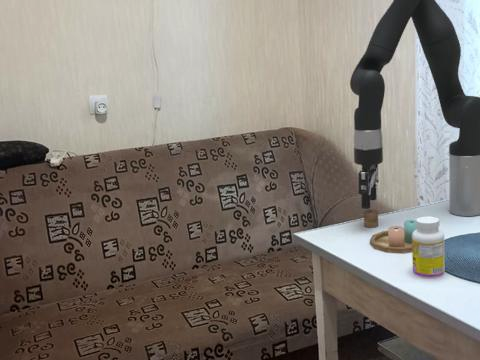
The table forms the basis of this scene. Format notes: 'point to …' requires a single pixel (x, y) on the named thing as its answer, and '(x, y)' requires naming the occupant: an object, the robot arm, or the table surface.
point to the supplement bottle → (428, 248)
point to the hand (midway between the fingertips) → (369, 204)
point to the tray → (387, 244)
